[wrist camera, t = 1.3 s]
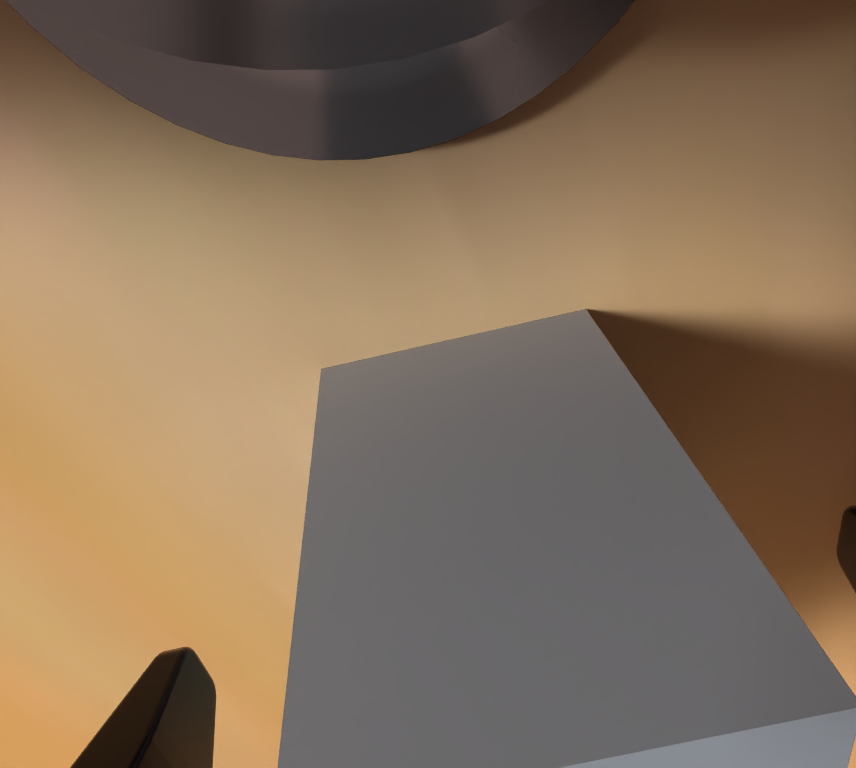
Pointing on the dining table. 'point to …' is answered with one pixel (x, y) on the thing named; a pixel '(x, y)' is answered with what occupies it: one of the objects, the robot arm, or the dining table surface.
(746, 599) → the block
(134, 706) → the robot arm
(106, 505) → the dining table surface
